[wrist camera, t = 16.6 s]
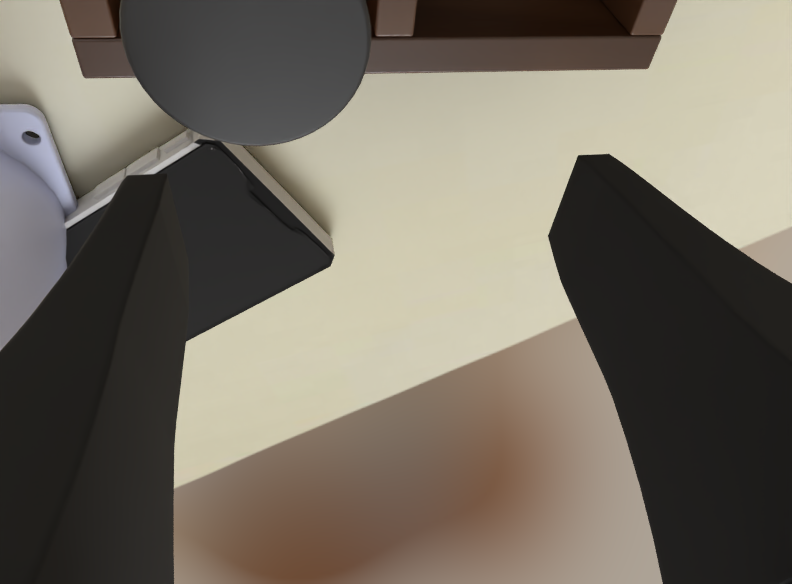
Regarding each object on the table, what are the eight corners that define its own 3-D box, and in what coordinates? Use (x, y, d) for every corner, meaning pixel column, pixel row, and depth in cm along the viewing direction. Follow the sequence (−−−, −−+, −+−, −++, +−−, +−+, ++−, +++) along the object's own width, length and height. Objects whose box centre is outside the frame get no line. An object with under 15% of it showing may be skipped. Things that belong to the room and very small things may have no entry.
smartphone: (-99, 322, 24) (207, 129, 20) (-89, 298, 25) (208, 107, 21) (78, 401, 30) (342, 263, 26) (81, 379, 30) (338, 242, 26)
